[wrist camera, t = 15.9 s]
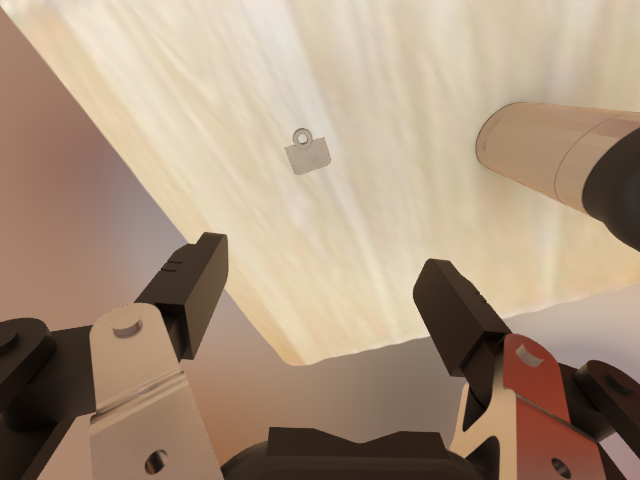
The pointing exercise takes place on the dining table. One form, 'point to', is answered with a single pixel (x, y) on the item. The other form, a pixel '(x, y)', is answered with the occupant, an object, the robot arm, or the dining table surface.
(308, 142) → the mounting bracket
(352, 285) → the dining table surface
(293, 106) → the dining table surface
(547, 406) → the robot arm
